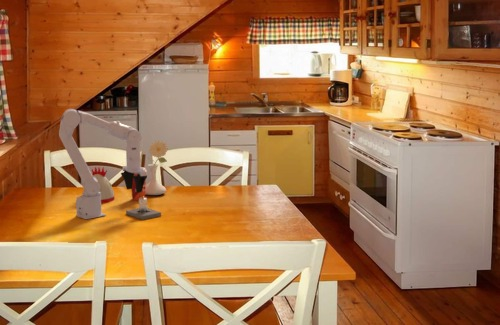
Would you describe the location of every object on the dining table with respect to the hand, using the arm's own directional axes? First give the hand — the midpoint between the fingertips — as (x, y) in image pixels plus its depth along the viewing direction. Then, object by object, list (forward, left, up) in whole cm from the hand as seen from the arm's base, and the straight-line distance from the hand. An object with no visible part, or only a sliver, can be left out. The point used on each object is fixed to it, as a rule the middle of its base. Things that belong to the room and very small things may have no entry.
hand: (134, 190), depth 285 cm
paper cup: (+15, +19, -10) cm, 26 cm away
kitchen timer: (0, +30, -10) cm, 32 cm away
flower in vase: (+26, +22, -10) cm, 35 cm away
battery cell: (0, -6, -9) cm, 11 cm away
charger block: (+1, -6, -9) cm, 11 cm away
